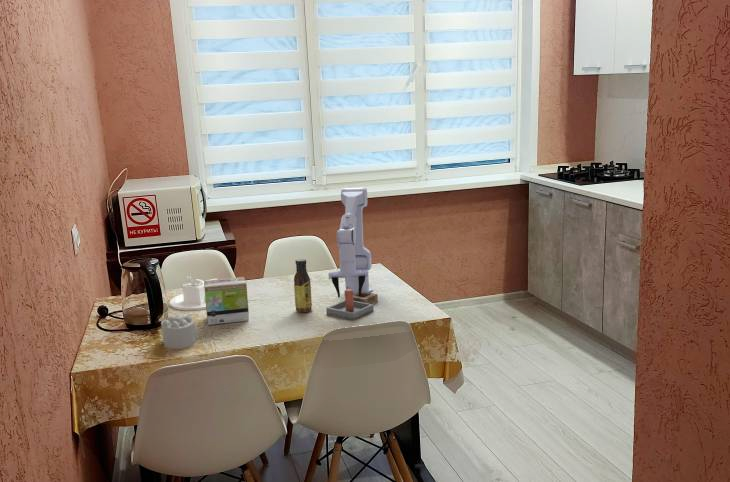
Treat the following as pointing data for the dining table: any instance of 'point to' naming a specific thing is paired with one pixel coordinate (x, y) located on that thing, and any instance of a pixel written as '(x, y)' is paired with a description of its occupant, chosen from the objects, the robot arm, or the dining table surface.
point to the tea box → (226, 300)
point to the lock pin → (349, 300)
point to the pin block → (365, 297)
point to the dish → (191, 296)
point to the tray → (358, 312)
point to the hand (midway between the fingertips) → (349, 296)
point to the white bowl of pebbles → (178, 332)
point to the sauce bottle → (302, 287)
